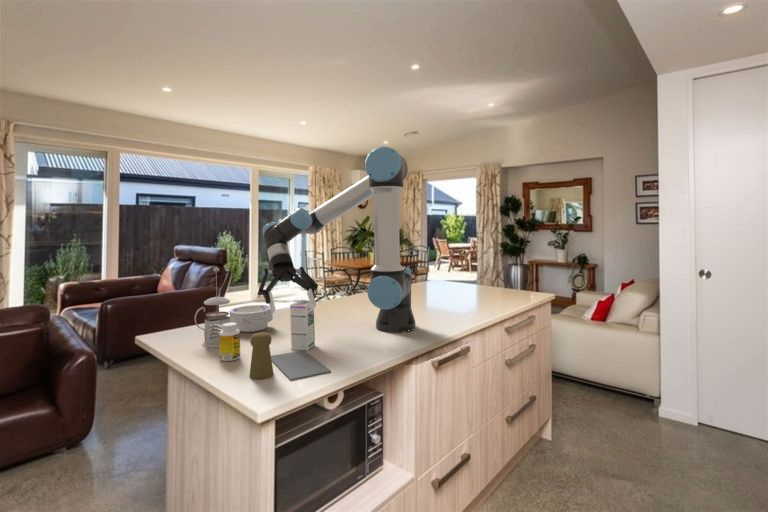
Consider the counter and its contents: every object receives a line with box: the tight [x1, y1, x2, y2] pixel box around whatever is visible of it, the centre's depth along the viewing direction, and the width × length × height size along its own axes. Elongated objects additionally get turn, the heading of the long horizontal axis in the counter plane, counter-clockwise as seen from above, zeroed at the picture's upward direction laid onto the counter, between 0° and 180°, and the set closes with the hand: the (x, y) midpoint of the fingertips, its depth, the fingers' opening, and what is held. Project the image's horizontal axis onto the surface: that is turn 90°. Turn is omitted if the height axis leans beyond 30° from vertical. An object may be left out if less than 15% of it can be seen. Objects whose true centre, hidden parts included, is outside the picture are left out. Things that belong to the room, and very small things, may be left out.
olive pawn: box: [249, 331, 275, 381], centre depth 100 cm, size 6×6×11 cm
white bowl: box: [228, 304, 274, 333], centre depth 145 cm, size 15×15×8 cm
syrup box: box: [289, 300, 316, 352], centre depth 123 cm, size 6×6×14 cm
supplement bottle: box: [219, 322, 241, 362], centre depth 113 cm, size 6×6×10 cm
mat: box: [271, 350, 332, 382], centre depth 108 cm, size 20×11×1 cm, turn 32°
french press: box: [194, 266, 231, 348], centre depth 127 cm, size 10×12×25 cm
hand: (294, 308), depth 127 cm, fingers open, 13 cm apart
